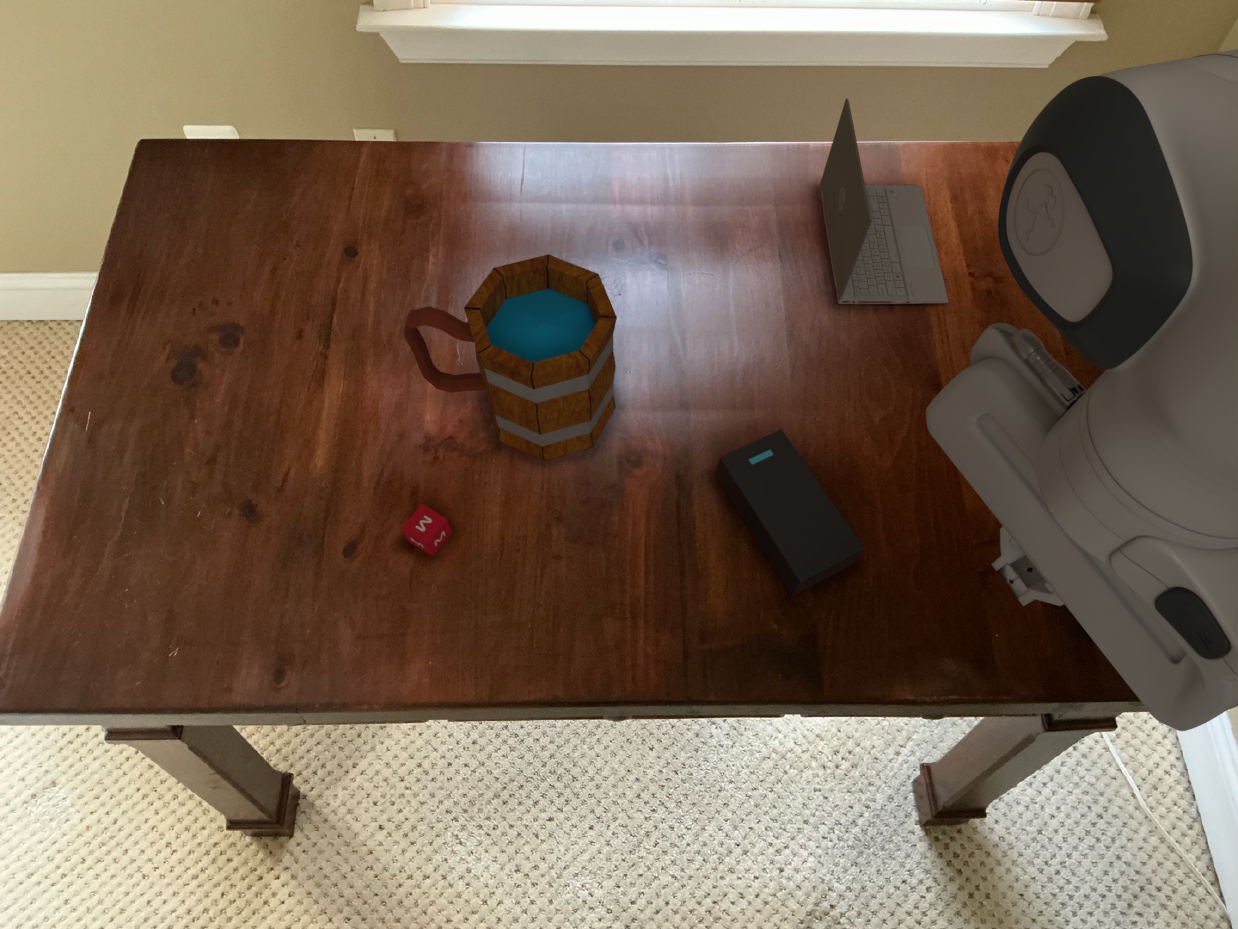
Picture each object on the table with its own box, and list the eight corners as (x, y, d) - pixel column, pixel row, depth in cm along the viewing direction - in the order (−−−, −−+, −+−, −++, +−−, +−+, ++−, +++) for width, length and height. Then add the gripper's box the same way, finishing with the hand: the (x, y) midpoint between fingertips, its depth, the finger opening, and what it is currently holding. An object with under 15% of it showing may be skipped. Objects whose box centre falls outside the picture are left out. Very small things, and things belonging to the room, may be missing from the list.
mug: (619, 354, 89) (622, 258, 76) (610, 465, 83) (611, 381, 69) (438, 343, 89) (409, 245, 76) (415, 452, 83) (379, 366, 70)
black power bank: (866, 547, 74) (782, 427, 80) (800, 581, 73) (719, 456, 78) (853, 565, 78) (774, 449, 84) (791, 597, 76) (714, 477, 82)
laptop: (947, 306, 93) (995, 221, 81) (835, 305, 93) (868, 220, 81) (919, 189, 101) (959, 97, 90) (817, 188, 101) (844, 96, 89)
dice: (433, 556, 78) (426, 544, 75) (407, 541, 78) (400, 528, 76) (452, 532, 79) (447, 519, 76) (427, 516, 80) (421, 503, 77)
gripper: (951, 327, 40) (869, 462, 52) (1283, 713, 32) (1093, 766, 44) (1051, 282, 41) (949, 423, 54) (1394, 640, 33) (1181, 711, 45)
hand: (1016, 580), depth 49 cm, fingers closed
